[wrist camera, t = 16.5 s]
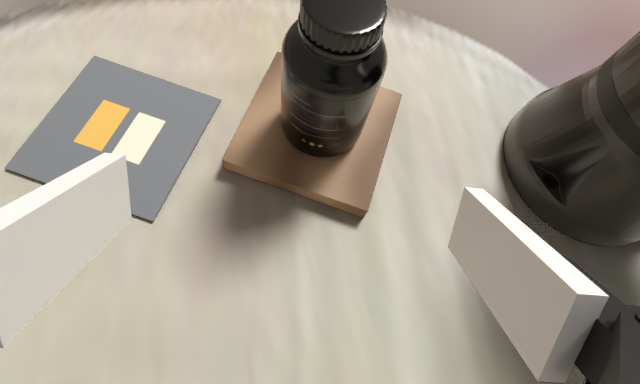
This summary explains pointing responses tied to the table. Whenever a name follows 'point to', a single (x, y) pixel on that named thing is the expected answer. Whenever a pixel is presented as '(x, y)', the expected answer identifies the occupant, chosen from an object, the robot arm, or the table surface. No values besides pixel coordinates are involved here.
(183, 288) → the table surface
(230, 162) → the walnut board
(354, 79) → the supplement bottle
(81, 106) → the gray card
